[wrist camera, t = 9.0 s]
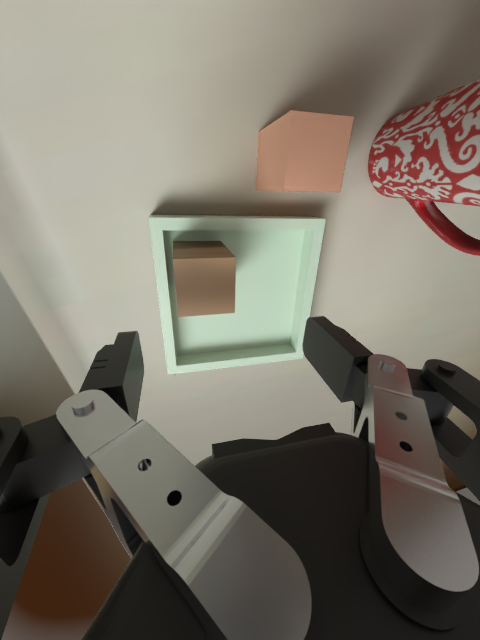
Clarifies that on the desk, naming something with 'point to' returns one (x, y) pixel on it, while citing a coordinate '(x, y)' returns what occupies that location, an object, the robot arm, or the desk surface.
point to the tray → (241, 289)
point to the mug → (433, 160)
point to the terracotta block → (303, 152)
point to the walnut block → (204, 278)
